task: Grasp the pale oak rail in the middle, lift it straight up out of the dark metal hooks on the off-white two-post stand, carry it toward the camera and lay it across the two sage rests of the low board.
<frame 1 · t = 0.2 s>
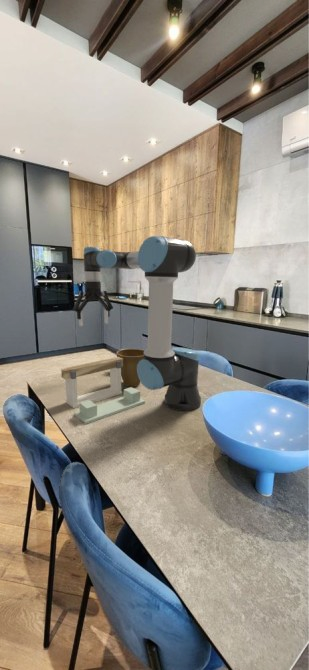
hand: (94, 324, 140), 28 cm above the table, fingers open, 13 cm apart
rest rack: (111, 408, 112), on the table
can: (126, 371, 157), on the table
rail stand: (95, 397, 122), on the table
plant pot: (132, 384, 138), on the table
rail: (94, 371, 119), point 12 cm above the table, touching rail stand
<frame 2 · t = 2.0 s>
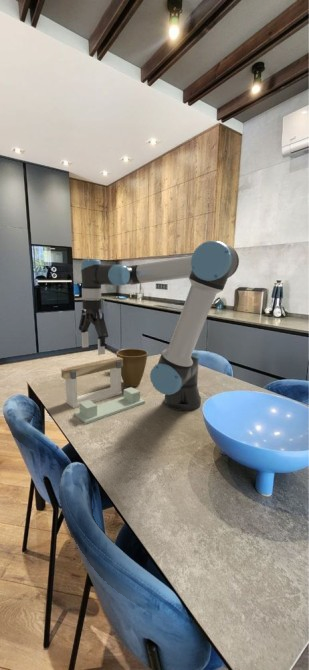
hand: (93, 350, 117), 21 cm above the table, fingers open, 13 cm apart
nothing on the table moved.
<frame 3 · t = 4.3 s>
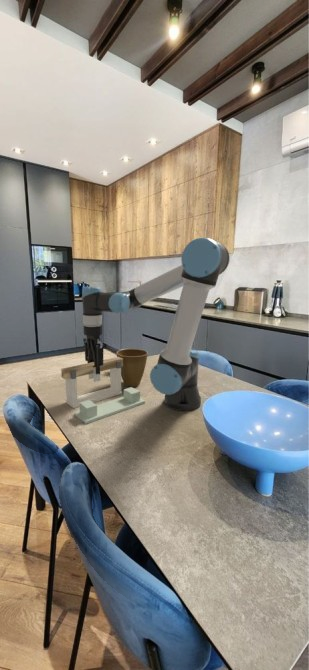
hand: (94, 379, 120), 8 cm above the table, fingers closed on rail, 3 cm apart
rail: (94, 371, 119), point 12 cm above the table, touching gripper, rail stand
everything else where it was.
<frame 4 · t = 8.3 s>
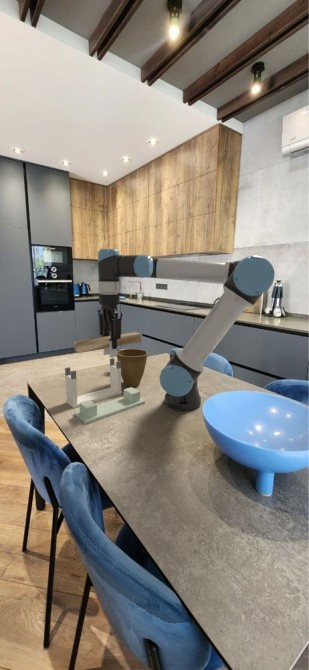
hand: (110, 355, 107), 22 cm above the table, fingers closed on rail, 3 cm apart
rail: (110, 346, 107), point 26 cm above the table, touching gripper
everything else where it was.
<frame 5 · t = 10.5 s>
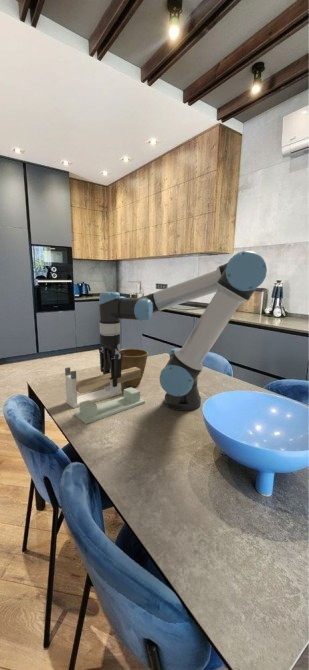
hand: (110, 392, 111), 7 cm above the table, fingers closed on rail, 3 cm apart
rail: (110, 383, 110), point 11 cm above the table, touching gripper
everything else where it was.
when the fingers open (3 cm above the table, at t = 12.4 s): rail drops 1 cm, resting on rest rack.
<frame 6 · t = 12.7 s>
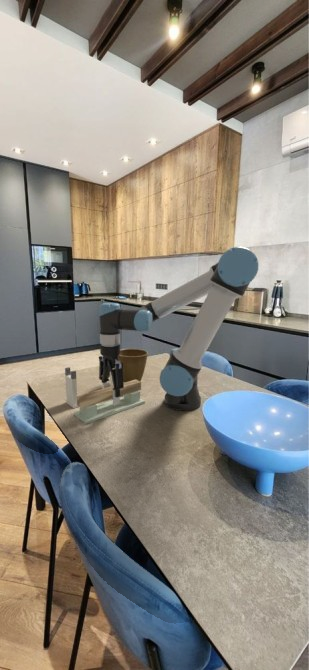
hand: (111, 400, 111), 3 cm above the table, fingers open, 7 cm apart
rail: (111, 396, 111), point 5 cm above the table, touching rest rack
everything else where it was.
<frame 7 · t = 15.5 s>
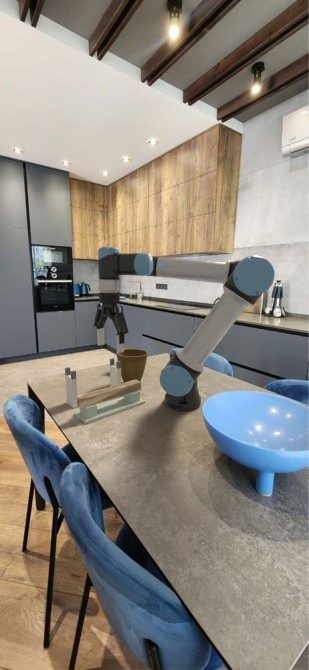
hand: (110, 348, 107), 25 cm above the table, fingers open, 13 cm apart
nothing on the table moved.
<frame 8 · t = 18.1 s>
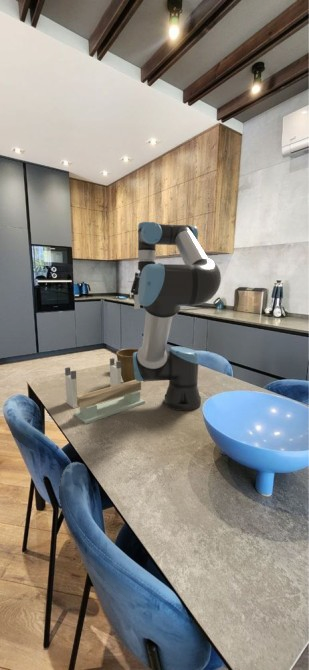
hand: (146, 310, 126), 37 cm above the table, fingers open, 13 cm apart
nothing on the table moved.
at the end: rail 0.0 cm off-centre on the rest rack, point 5.0 cm above the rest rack's base; rail tilted 0°; the gripper is holding nothing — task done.
